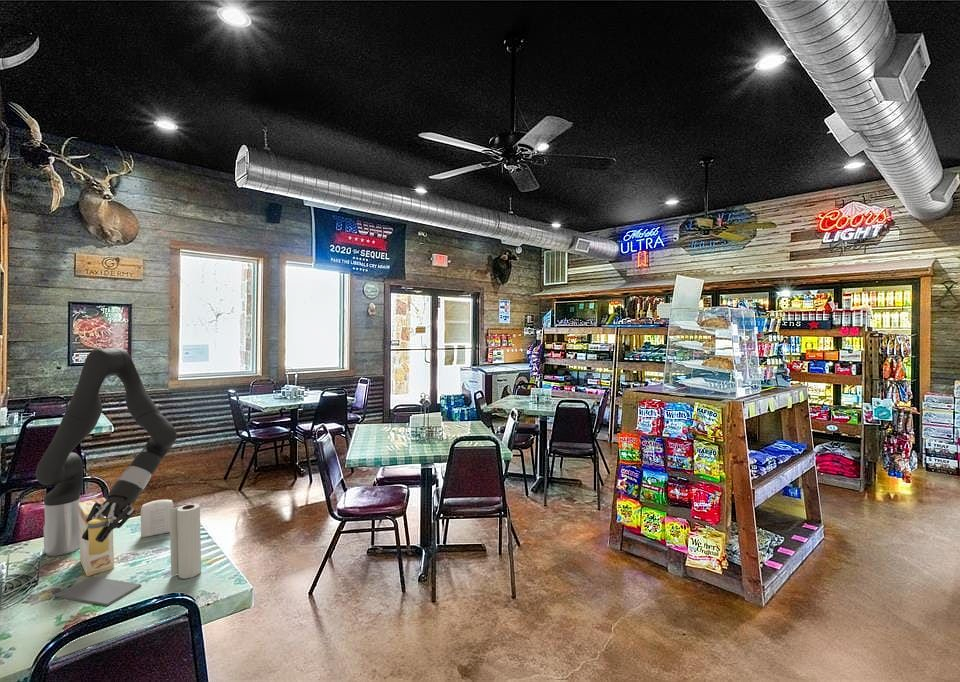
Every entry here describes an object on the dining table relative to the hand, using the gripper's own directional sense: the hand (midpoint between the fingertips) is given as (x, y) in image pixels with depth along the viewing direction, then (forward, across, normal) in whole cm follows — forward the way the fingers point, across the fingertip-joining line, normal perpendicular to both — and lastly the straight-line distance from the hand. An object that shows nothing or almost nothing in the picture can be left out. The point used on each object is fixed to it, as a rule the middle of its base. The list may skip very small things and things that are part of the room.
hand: (91, 540), depth 134 cm
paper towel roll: (0, +17, +23) cm, 28 cm away
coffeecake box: (+2, -17, +21) cm, 27 cm away
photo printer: (-14, -18, +38) cm, 44 cm away
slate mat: (+10, 0, +13) cm, 16 cm away
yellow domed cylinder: (+2, 0, +4) cm, 5 cm away
